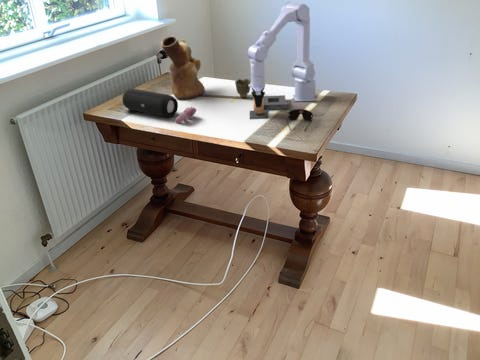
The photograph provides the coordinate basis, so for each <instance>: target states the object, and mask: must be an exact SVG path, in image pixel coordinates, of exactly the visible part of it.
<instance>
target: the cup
mask: <svg viewBox="0 0 480 360" xmlns="http://www.w3.org/2000/svg"><path fill="white" fill-rule="evenodd" d="M234 83H235V90H236V92H237V94H239V97H240V98H241V99H245V98H247V97H248V94H249V93H250V91H251V87H249V84H251V79H248V78H244V79H243V80H242V78H241V79H240V78H238V79H237V80H235V81H234Z"/></svg>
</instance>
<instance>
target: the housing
mask: <svg viewBox="0 0 480 360" xmlns="http://www.w3.org/2000/svg"><path fill="white" fill-rule="evenodd" d="M286 100H287V99H286V95H285V94H284V95H264V110H268V111H282V110H287V101H286Z"/></svg>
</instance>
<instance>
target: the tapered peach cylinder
mask: <svg viewBox="0 0 480 360" xmlns="http://www.w3.org/2000/svg"><path fill="white" fill-rule="evenodd" d="M264 96H265V95H264ZM264 96H263V99H262V105H261V107H257V108H256V105H255V100H254V98H253V100H252V101H253V111H254V113H256V114H261V113H263V112H264Z"/></svg>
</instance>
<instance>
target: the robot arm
mask: <svg viewBox="0 0 480 360" xmlns="http://www.w3.org/2000/svg"><path fill="white" fill-rule="evenodd" d="M290 22H291V23H293V22H294V23H295V24H296V25H297V26H296V27H297V28H296V32H297V33H296V60H295V61H293V63H292V69H291V75H292V77H293V80H294V87H295V88H294V94H293V95H292V96H293V99H294V100H293V101H294V102H295V103H297V102H315V101H316V79H314V78H315V75H316V72H315V65H314V63H313V62H312V61H311V60H310V39H311V38H310V37H311V36H310V35H311V32H310V31H311V30H310V29H311V16H310V7H309V6H308V5H307V4H305V3H297V2H291V1H287V2H285V3H284V4H283V6H282V7H281V10H280V14H279V15H278V17H277V18H276V20H275V21H274V23H273V24H272V26H271V27H270V29H269V30H265V31H263V32H262V33H261V36H260V37H259V38H258V39H257V40H256V42H255V43H254V44H253V45H250V46H249V48H248V49H247V52H246V55H247V58H248V60H249V63H250V81H251V84H249V87H250V89H251V90H252V91H251V96H252V97H253V98H254V100H255V105H256V108H257V107H261V105H262V99H263V96H265V94H266V92H265V91H264V89H265V87H266V83H265V81H266V80H265V60H266V58H267V56H268V53H269V50H270V48H271V47H272V46H273V44H274V43H275V42H276V41H277V35H278V34H279V33H280V31H282V29H283V28H284V27H285V26H286V25H287V24H288V23H290Z"/></svg>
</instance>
